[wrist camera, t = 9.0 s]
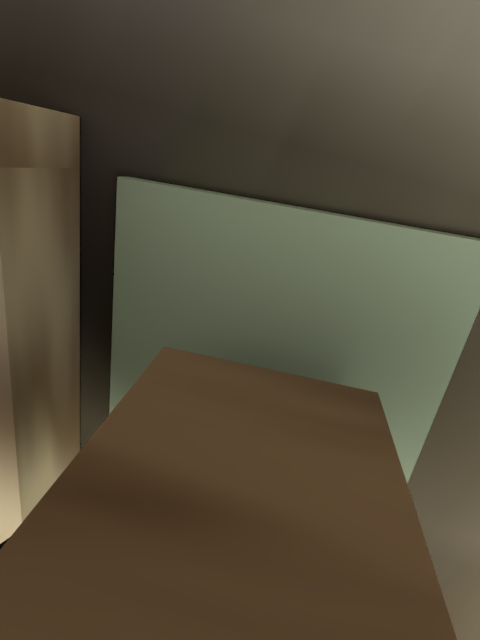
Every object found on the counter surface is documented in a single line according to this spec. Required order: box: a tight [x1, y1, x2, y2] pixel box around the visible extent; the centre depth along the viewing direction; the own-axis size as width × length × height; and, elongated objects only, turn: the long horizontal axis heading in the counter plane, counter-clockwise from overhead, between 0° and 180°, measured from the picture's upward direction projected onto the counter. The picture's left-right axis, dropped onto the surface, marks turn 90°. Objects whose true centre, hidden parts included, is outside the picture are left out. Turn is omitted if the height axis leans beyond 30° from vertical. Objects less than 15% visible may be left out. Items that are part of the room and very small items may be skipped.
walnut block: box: [0, 347, 457, 640], centre depth 6 cm, size 5×5×8 cm
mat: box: [109, 176, 480, 483], centre depth 12 cm, size 12×9×1 cm
